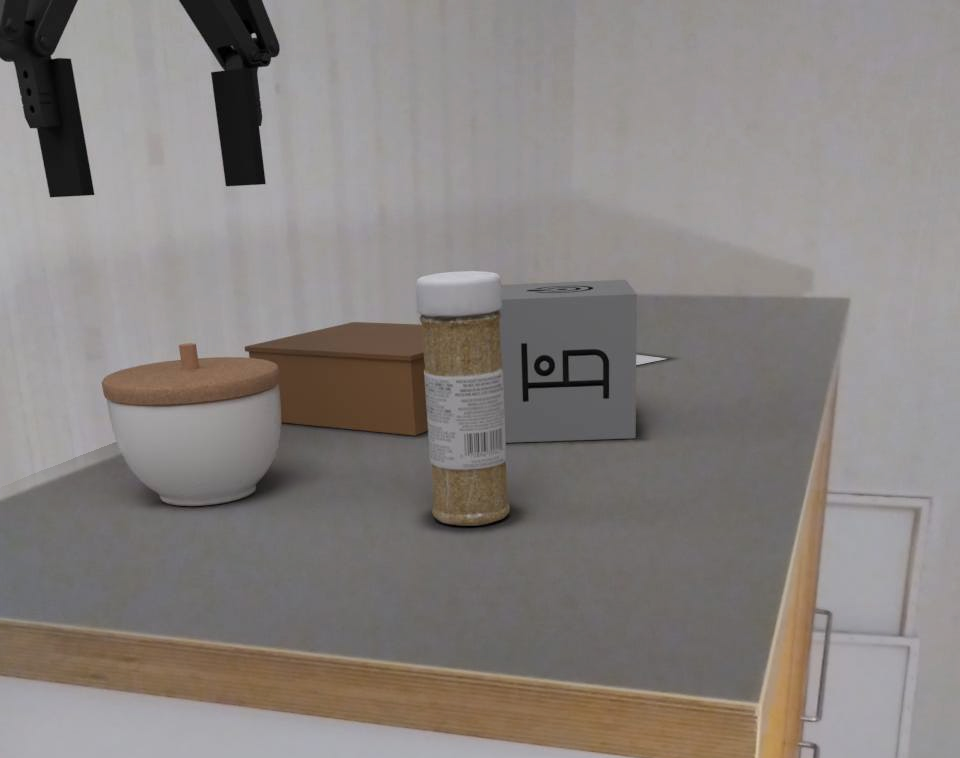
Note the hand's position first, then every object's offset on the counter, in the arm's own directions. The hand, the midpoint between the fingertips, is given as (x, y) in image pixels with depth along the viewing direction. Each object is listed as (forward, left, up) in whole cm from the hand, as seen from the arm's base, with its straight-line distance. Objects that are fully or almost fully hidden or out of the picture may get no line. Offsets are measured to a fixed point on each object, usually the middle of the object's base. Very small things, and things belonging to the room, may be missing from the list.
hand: (166, 191), depth 65 cm
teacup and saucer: (-4, +49, -18) cm, 52 cm away
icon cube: (+13, +25, -18) cm, 34 cm away
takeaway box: (-4, +25, -18) cm, 31 cm away
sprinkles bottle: (+19, +2, -18) cm, 26 cm away
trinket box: (0, 0, -18) cm, 18 cm away
